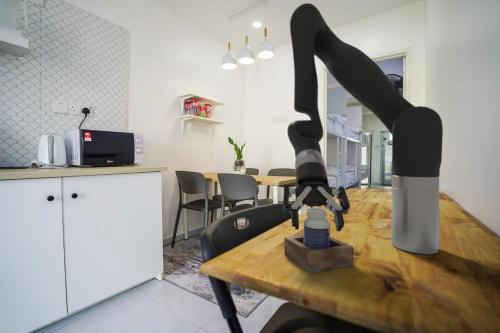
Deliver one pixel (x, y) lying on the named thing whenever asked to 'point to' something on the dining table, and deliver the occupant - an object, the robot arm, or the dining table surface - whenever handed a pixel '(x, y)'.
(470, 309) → the dining table surface
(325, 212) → the pill bottle
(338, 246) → the square tray
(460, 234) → the dining table surface
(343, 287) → the dining table surface
